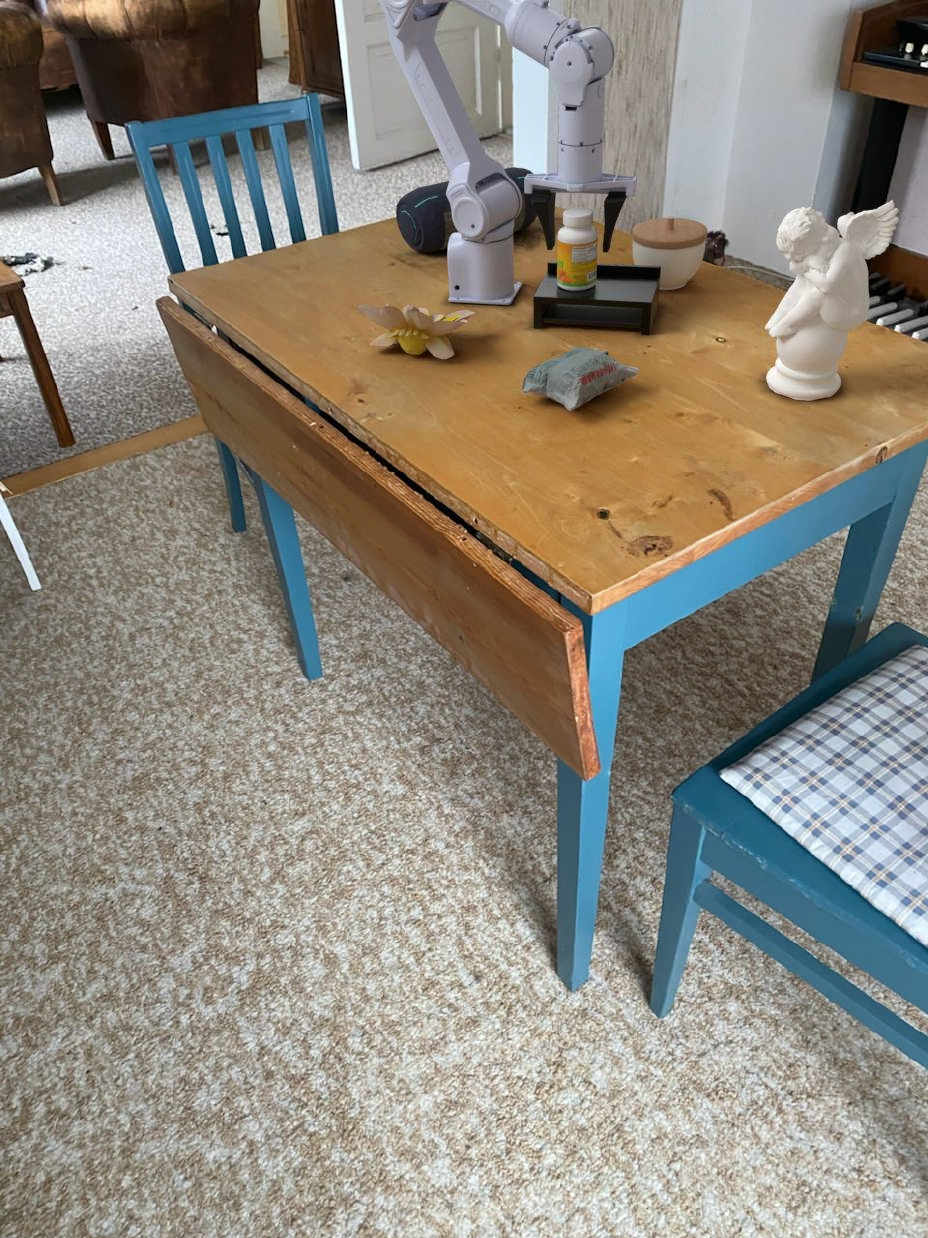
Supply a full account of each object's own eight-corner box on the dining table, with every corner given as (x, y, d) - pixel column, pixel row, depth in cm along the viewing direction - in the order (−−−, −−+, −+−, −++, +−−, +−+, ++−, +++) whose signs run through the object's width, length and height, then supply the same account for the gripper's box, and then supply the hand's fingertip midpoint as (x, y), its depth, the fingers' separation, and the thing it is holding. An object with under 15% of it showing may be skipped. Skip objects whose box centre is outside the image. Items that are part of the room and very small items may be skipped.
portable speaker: (420, 264, 154) (414, 200, 147) (393, 247, 161) (387, 185, 154) (551, 232, 162) (551, 169, 156) (520, 217, 169) (519, 156, 163)
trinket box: (698, 268, 146) (705, 204, 140) (705, 295, 138) (712, 228, 132) (628, 269, 147) (631, 206, 141) (630, 296, 139) (634, 230, 133)
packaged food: (637, 390, 116) (639, 351, 113) (570, 425, 111) (570, 385, 108) (584, 369, 122) (585, 332, 118) (518, 402, 116) (517, 364, 113)
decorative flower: (499, 325, 129) (483, 258, 122) (462, 377, 123) (443, 311, 116) (406, 317, 136) (386, 253, 128) (367, 366, 130) (343, 302, 123)
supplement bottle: (554, 278, 134) (554, 206, 128) (592, 275, 134) (594, 203, 128) (560, 293, 130) (561, 219, 123) (599, 289, 130) (602, 216, 124)
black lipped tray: (533, 328, 132) (533, 287, 129) (548, 300, 140) (548, 261, 136) (649, 334, 128) (652, 293, 125) (658, 305, 136) (661, 265, 132)
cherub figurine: (745, 389, 115) (773, 198, 101) (781, 350, 123) (812, 167, 109) (846, 411, 109) (891, 213, 95) (878, 369, 117) (924, 179, 103)
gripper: (518, 148, 120) (520, 256, 129) (633, 149, 117) (627, 261, 125) (530, 133, 125) (531, 238, 134) (641, 134, 122) (634, 242, 130)
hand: (578, 248), depth 130 cm, fingers open, 7 cm apart
